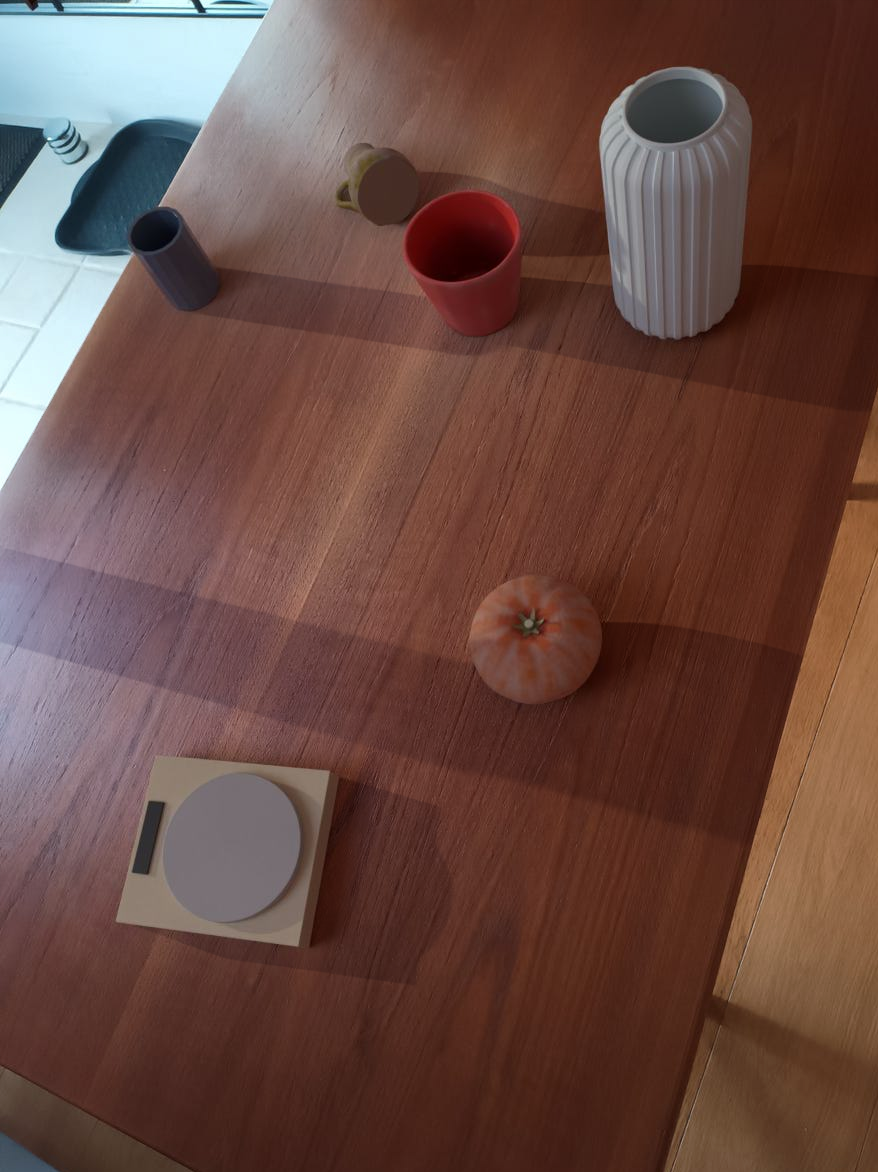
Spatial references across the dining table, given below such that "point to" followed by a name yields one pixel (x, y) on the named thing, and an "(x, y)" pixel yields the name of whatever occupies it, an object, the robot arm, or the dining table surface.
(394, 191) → the mug
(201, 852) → the scale
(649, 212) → the vase
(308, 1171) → the dining table surface
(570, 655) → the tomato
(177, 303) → the ceramic cup
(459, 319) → the flower pot
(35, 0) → the robot arm
